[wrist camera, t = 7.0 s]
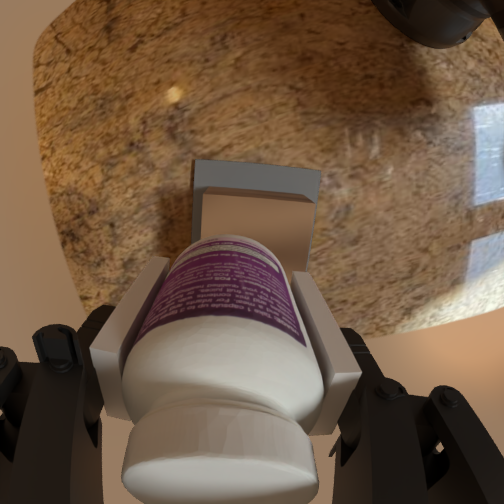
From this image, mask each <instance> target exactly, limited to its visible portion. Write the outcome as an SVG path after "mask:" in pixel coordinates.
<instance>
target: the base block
mask: <svg viewBox="0 0 504 504" xmlns="http://www.w3.org/2000/svg"><path fill="white" fill-rule="evenodd" d="M315 206H316V203H314V202H313V201H311V200H310V199H309V198H307V197H306V196H305V195H303V194H295V193H285V192H275V191H264V190H253V189H240V188H227V187H212V186H209V187H208V189H207V190H206V191H205V192H204V193H203V203H202V223H201V239H203V238H206V237H209V236H213V235H222V234H230V235H238V236H243V237H247V238H250V239H253V240H255V241H257V242H259V243H260V244H262V245H263V246H265V247H266V248H267V249H268V250H270V251H271V252H272V253H273V254H274V255H275V256H276V258H277V259H278V261H279V262H280V264H281V265H282V267H283V269H284V272H285V274H286V277H287V280H288V283H289V285H290V283H291V278H292V273H293V271H298V272H306V266H307V259H308V253H309V247H310V240H311V234H312V227H313V220H314V213H315Z"/></svg>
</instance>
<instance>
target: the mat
mask: <svg viewBox="0 0 504 504" xmlns="http://www.w3.org/2000/svg"><path fill="white" fill-rule="evenodd" d="M320 177H321V171H319V170H311V169H303V168H295V167H287V166H278V165H268V164H257V163H246V162H233V161H218V160H200V159H195V174H194V191H193V211H192V237H191V245H192V244H193V243H195V242H197V241H199V240H201V223H202V203H203V193H204V192H205V191H206V190H207V189H208V187H209V186H212V187H227V188H240V189H253V190H264V191H275V192H285V193H295V194H303V195H305V196H306V197H307V198H309V199H310V200H311V201H313V202H314V203H316V206H315V213H314V220H313V227H312V234H311V240H310V247H309V253H308V259H307V266H308V260H309V254H310V248H311V242H312V235H313V228H314V222H315V215H316V208H317V200H318V193H319V185H320ZM307 266H306V272H307Z"/></svg>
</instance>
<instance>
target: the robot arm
mask: <svg viewBox="0 0 504 504" xmlns="http://www.w3.org/2000/svg"><path fill="white" fill-rule="evenodd" d="M372 2H373V3H374V5H375V6H376V7H377V8H378V10H379V11H380V12H381V13H382V14H383V16H384V17H385V18H386V19H387V20H388V21H389V22H390V23H392V24H393V25H394V26H395V27H396V28H397V29H399V30H400V31H401V32H403V33H404V34H405V35H407V36H408V37H410V38H412V39H413V40H415V41H417V42H419V43H421V44H424V45H426V46H429V47H433V48H439V49H445V48H450V47H453V46H456V45H459V44H461V43H463V42H465V41H466V40H467V39H468V38H469V37H470V36H471V34H472V32H473V31H475V30H476V29H477V28H478V27H479V26H480V24H481V23H482V22H483V21H484V20H485V19H487V18H489V17H491V18H492V20H493V22H494V24H495V25H496V27H497V29H498V31H499V33H500V35H501V37H502V39H503V41H504V0H372ZM169 261H170V258H165V257H157V256H153V257H152V258H151V259H150V261H149V262H148V263H147V265H146V266H145V267H144V269H143V270H142V271H141V273H140V274H139V275H138V277H137V278H136V280H135V281H134V282H133V284H132V285H131V287H130V288H129V289H128V291H127V292H126V294H125V295H124V296H123V298H122V299H121V301H120V302H119V304H118V305H117V307H114V306H109V305H102V306H100V307H98V308H97V309H95V310H93V311H92V313H91V314H90V315H89V316H88V318H87V320H86V321H85V322H84V323H83V324H82V327H80V328H79V330H78V331H77V332H76V331H75V330H74V329H73V328H71V327H69V326H67V325H62V324H53V325H48V326H45V327H42V328H41V329H39V330H38V331H36V332H35V334H34V335H33V336H32V339H33V342H34V346H35V349H36V352H37V355H38V358H39V361H40V363H31V362H30V363H29V362H18V359H17V356H16V354H15V353H14V351H13V350H11V349H10V348H8V347H0V409H1V410H2V412H3V413H2V415H1V416H0V504H104V502H103V486H102V422H101V418H100V413H101V410H102V408H103V405H104V407H105V410H106V413H107V416H111V417H115V418H119V419H124V420H128V421H131V419H130V417H129V415H128V413H127V410H126V408H125V404H124V401H123V396H122V376H123V371H124V367H125V363H126V360H127V357H128V355H129V353H130V351H131V349H132V346H133V344H134V342H135V340H136V338H137V336H138V334H139V331H140V329H141V327H142V325H143V323H144V321H145V319H146V317H147V315H148V313H149V311H150V309H151V307H152V305H153V303H154V301H155V299H156V297H157V295H158V293H159V291H160V289H161V286H162V284H163V282H164V280H165V278H166V276H167V275H168V273H169ZM290 288H291V291H292V294H293V297H294V299H295V302H296V305H297V308H298V311H299V314H300V316H301V318H302V321H303V324H304V326H305V329H306V332H307V335H308V337H309V340H310V342H311V346H312V349H313V351H314V354H315V357H316V360H317V363H318V366H319V368H320V371H321V375H322V380H323V386H324V400H323V406H322V411H321V413H320V416H319V418H318V421H317V423H316V424H315V426H314V428H313V429H312V430H311V432H310V433H309V434H308V435H309V436H313V435H329V434H332V433H333V431H334V429H335V427H336V425H337V423H338V426H339V429H340V431H341V434H340V436H339V438H338V439H337V441H336V443H335V445H334V446H333V448H332V450H331V451H330V454H329V457H332V456H333V454H334V453H335V451H336V459H335V475H334V489H333V500H332V504H504V458H503V456H502V454H501V452H500V451H499V449H498V448H497V446H496V444H495V443H494V441H493V440H492V438H491V436H490V435H489V433H488V432H487V430H486V429H485V427H484V426H483V424H482V423H481V421H480V419H479V418H478V417H477V415H476V414H475V412H474V411H473V409H472V408H471V406H470V405H469V403H468V402H467V400H466V399H465V398H464V396H463V395H462V394H461V393H460V392H459V391H458V390H456V389H454V388H453V387H449V386H445V385H443V386H441V385H440V386H437V387H435V388H434V389H433V390H432V391H431V393H430V395H429V397H423V396H415V395H409V394H408V393H407V391H406V389H405V388H404V387H403V386H402V385H401V384H400V383H399V382H397V381H395V380H393V379H390V378H386V377H384V375H383V373H382V372H381V370H380V368H379V367H378V365H377V363H376V361H375V360H374V358H373V356H372V355H371V354H370V351H369V349H368V348H367V347H366V344H365V343H364V341H363V339H362V338H361V336H360V335H359V334H358V333H356V332H355V331H354V330H353V329H351V328H339V326H338V324H337V323H336V321H335V319H334V317H333V315H332V313H331V311H330V309H329V308H328V306H327V304H326V302H325V300H324V298H323V296H322V295H321V293H320V291H319V289H318V287H317V285H316V284H315V282H314V280H313V278H312V276H311V275H310V273H308V272H298V271H293V273H292V278H291V283H290ZM440 442H441V443H442V445H443V447H444V449H443V450H442V451H441V452H438V451H437V450H436V446H437V445H438V444H439V443H440Z"/></svg>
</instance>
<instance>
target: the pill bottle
mask: <svg viewBox="0 0 504 504" xmlns="http://www.w3.org/2000/svg"><path fill="white" fill-rule="evenodd" d="M122 396H123V401H124V404H125V408H126V410H127V413H128V415H129V417H130V419H131V420H132V422H133V424H134V425H135V426H134V427H133V429H132V430H131V432H130V435H129V440H128V445H127V448H126V452H125V457H124V462H123V467H122V475H121V479H122V482H123V484H124V486H125V488H126V489H127V490H128V491H129V492H130V493H131V494H132V495H133V496H134V497H135V498H136V499H138V500H140V501H141V502H143V503H144V504H308V503H309V502H310V501H311V500H312V499H313V498H314V497H315V496H316V494H317V493H318V489H319V480H318V474H317V469H316V464H315V459H314V452H313V445H312V443H311V441H310V439H309V437H308V434H309V433H310V432H311V430H312V429H313V428H314V426H315V424H316V423H317V421H318V418H319V416H320V413H321V411H322V406H323V400H324V386H323V380H322V375H321V371H320V368H319V366H318V363H317V360H316V357H315V354H314V351H313V349H312V346H311V342H310V340H309V337H308V335H307V332H306V329H305V326H304V324H303V321H302V318H301V316H300V314H299V311H298V308H297V305H296V302H295V299H294V297H293V294H292V291H291V288H290V285H289V283H288V280H287V277H286V274H285V272H284V269H283V267H282V265H281V264H280V262H279V261H278V259H277V258H276V256H275V255H274V254H273V253H272V252H271V251H270V250H268V249H267V248H266V247H265V246H263V245H262V244H260V243H259V242H257V241H255V240H253V239H250V238H247V237H243V236H238V235H230V234H222V235H213V236H209V237H206V238H203V239H201V240H199V241H197V242H195V243H193V244H192V245H190V246H189V247H188V248H186V249H185V250H184V251H183V252H182V253H181V254H180V255H179V256H178V258H177V259H176V260H175V262H174V264H173V265H172V267H171V269H170V271H169V273H168V275H167V276H166V278H165V280H164V282H163V284H162V286H161V289H160V291H159V293H158V295H157V297H156V299H155V301H154V303H153V305H152V307H151V309H150V311H149V313H148V315H147V317H146V319H145V321H144V323H143V325H142V327H141V329H140V331H139V334H138V336H137V338H136V340H135V342H134V344H133V346H132V349H131V351H130V353H129V355H128V357H127V360H126V363H125V367H124V371H123V376H122Z"/></svg>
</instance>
